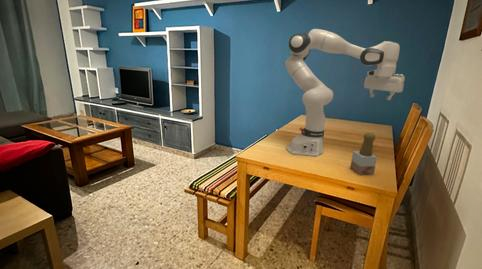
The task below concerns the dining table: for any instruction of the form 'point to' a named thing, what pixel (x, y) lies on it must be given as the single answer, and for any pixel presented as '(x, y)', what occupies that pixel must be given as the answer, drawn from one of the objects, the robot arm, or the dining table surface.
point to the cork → (367, 144)
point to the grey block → (363, 159)
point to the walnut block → (362, 169)
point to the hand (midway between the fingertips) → (380, 98)
